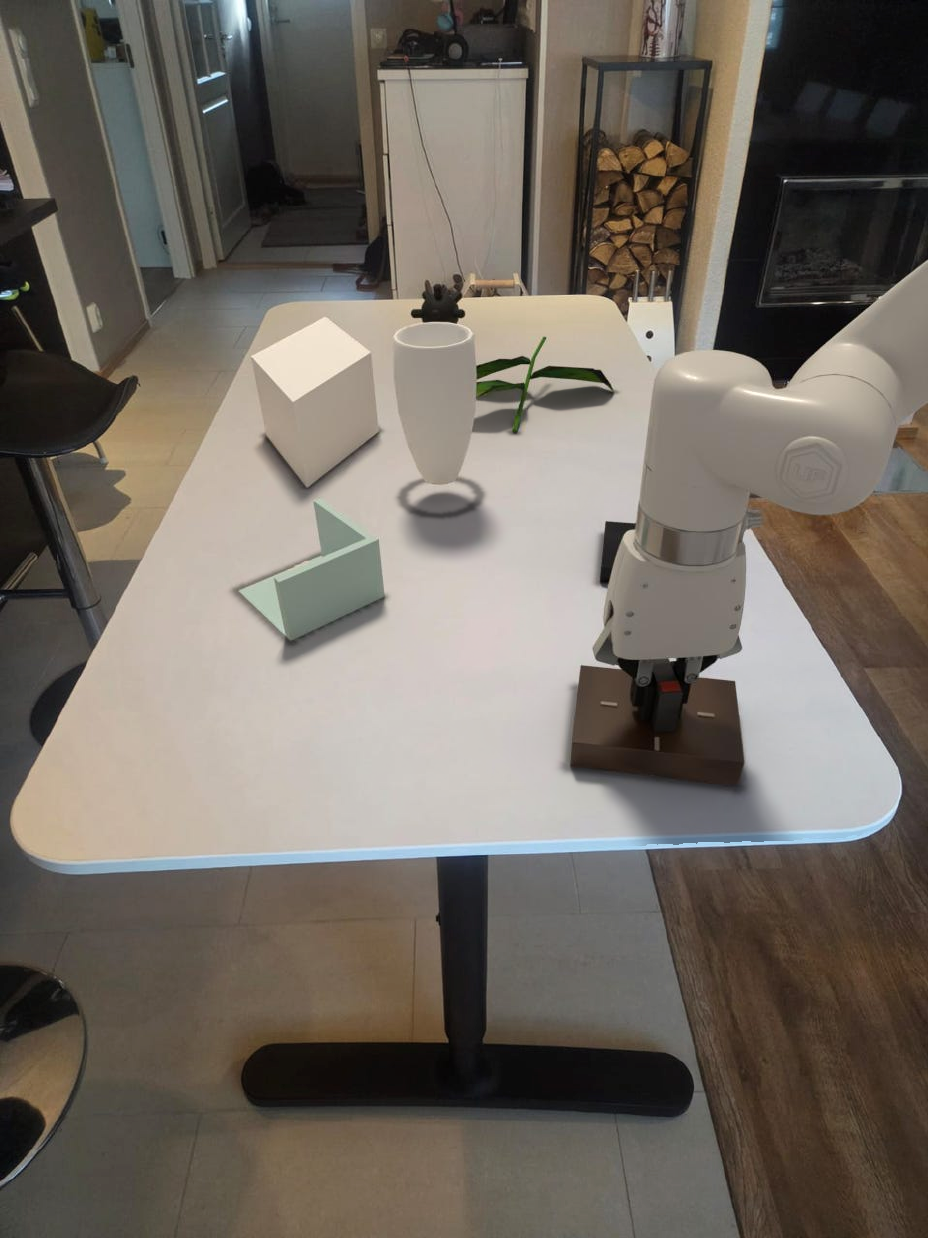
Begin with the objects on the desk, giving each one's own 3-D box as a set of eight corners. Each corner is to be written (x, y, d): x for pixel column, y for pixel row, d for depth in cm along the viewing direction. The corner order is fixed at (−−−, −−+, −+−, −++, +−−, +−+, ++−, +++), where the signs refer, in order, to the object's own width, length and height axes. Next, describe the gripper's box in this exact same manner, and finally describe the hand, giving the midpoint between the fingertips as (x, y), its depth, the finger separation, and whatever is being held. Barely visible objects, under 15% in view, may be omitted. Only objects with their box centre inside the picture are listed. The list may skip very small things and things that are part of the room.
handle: (639, 689, 72) (645, 648, 69) (658, 687, 72) (665, 647, 69) (654, 733, 68) (661, 691, 65) (675, 731, 68) (683, 690, 65)
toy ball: (482, 312, 160) (474, 314, 149) (445, 351, 164) (435, 356, 153) (444, 271, 158) (434, 270, 147) (408, 311, 162) (395, 313, 151)
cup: (386, 497, 107) (370, 336, 94) (441, 470, 113) (434, 314, 100) (440, 524, 102) (432, 356, 88) (496, 494, 107) (495, 332, 94)
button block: (704, 543, 96) (709, 515, 94) (708, 591, 89) (714, 561, 86) (604, 536, 98) (606, 507, 96) (599, 582, 91) (602, 552, 88)
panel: (729, 704, 75) (735, 679, 73) (738, 787, 67) (745, 761, 65) (578, 688, 77) (580, 663, 75) (569, 766, 69) (572, 740, 67)
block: (243, 489, 110) (224, 404, 103) (284, 391, 138) (271, 318, 130) (370, 485, 110) (361, 399, 103) (385, 388, 138) (378, 314, 130)
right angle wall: (328, 552, 97) (319, 498, 92) (384, 596, 90) (378, 539, 85) (238, 590, 91) (224, 534, 87) (290, 640, 84) (278, 582, 79)
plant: (420, 404, 132) (417, 358, 127) (540, 364, 145) (542, 321, 141) (494, 441, 120) (494, 391, 116) (618, 393, 134) (622, 347, 129)
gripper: (775, 496, 62) (731, 674, 73) (571, 507, 61) (559, 684, 73) (814, 549, 56) (761, 733, 67) (590, 561, 55) (574, 745, 67)
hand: (656, 707), depth 70 cm, fingers closed, pressing on handle
